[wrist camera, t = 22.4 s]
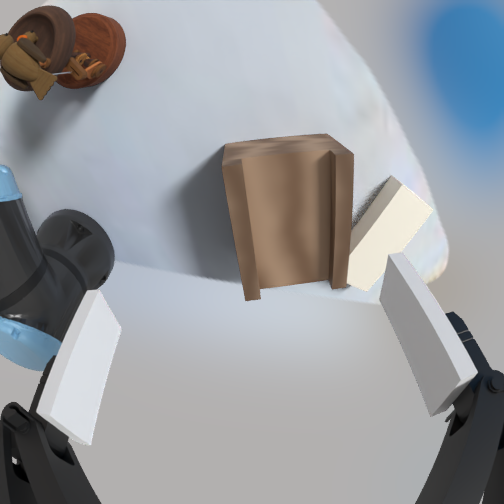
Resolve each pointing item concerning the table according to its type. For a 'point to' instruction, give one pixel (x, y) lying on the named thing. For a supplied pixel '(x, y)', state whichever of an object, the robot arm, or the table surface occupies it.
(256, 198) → the brown channel-shaped piece
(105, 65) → the music box
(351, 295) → the table surface
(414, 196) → the thick cream rectangular block
